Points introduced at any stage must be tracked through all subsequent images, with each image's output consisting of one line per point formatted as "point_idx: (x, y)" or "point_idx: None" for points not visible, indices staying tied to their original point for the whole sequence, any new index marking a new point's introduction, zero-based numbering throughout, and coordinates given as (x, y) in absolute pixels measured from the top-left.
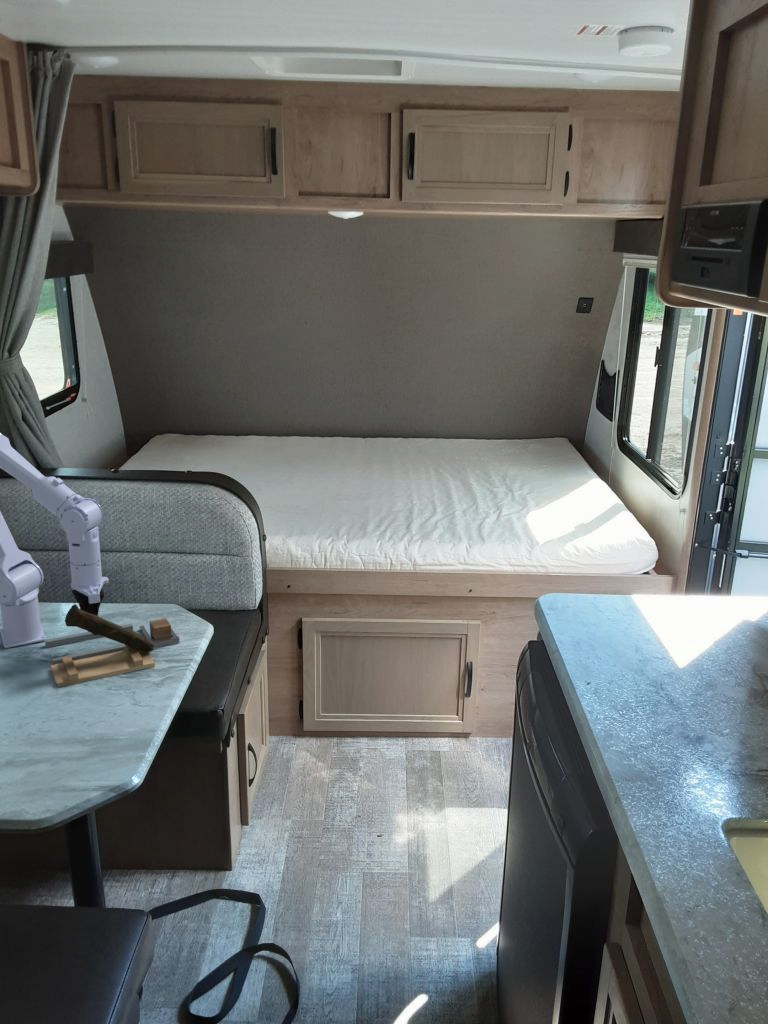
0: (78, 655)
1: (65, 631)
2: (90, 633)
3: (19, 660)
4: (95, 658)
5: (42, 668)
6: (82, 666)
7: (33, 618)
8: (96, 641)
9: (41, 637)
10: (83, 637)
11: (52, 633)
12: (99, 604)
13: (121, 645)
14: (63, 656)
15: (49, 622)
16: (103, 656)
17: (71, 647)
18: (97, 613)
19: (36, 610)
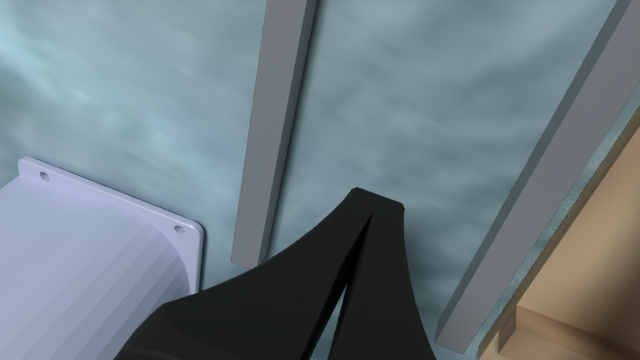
0: (507, 275)
1: (141, 118)
2: (283, 92)
3: (314, 350)
4: (603, 230)
5: (444, 353)
6: (626, 312)
7: (117, 324)
8: (349, 73)
9: (178, 234)
10: (287, 124)
11: (137, 165)
12: (428, 347)
13: (620, 49)
14: (455, 310)
15: (18, 115)
16: (627, 193)
17: (332, 192)
18: (406, 263)
19: (76, 331)
